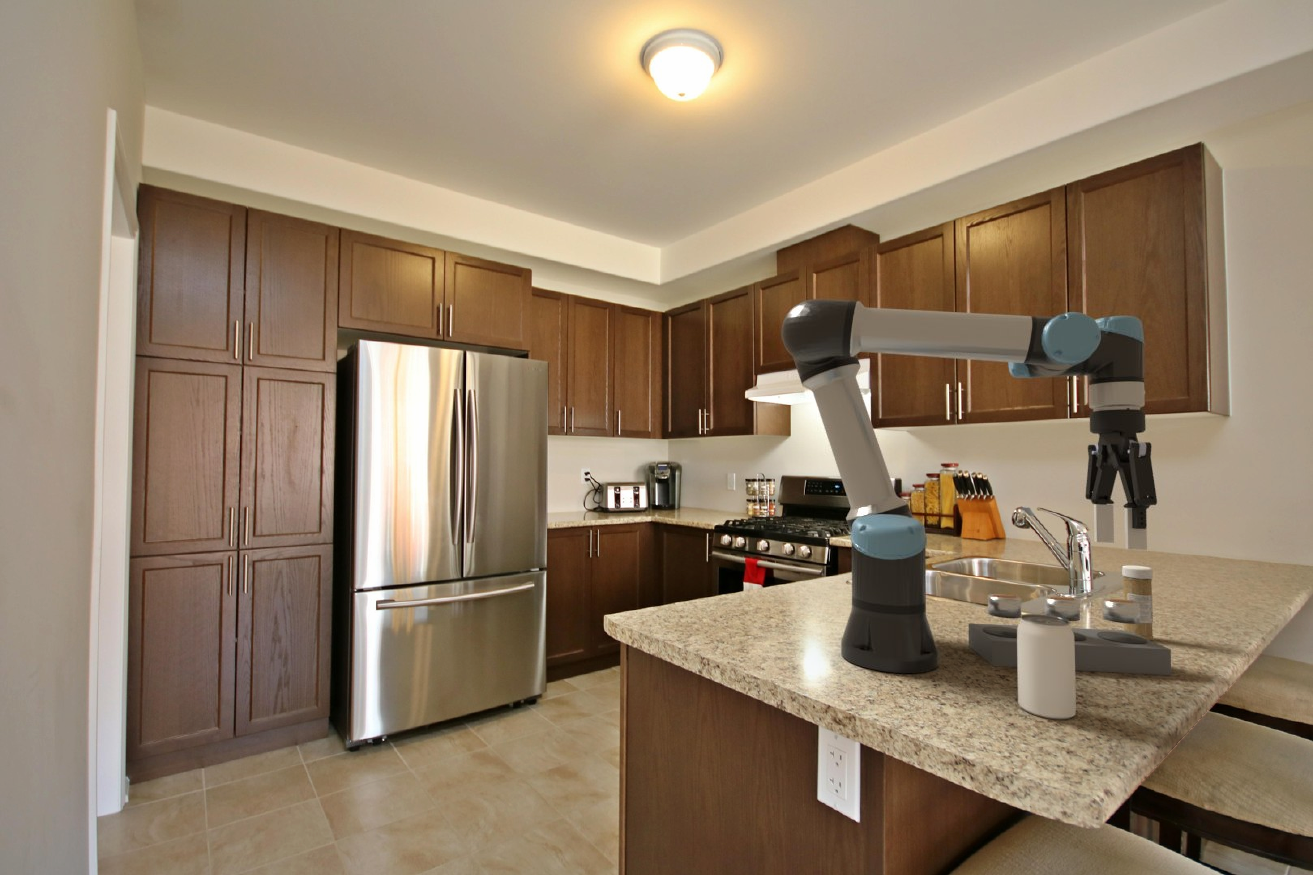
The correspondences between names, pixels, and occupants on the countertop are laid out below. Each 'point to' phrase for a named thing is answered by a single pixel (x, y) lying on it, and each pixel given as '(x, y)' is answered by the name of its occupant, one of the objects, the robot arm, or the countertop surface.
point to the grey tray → (1079, 649)
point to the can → (1046, 666)
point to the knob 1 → (1004, 606)
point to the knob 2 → (1121, 611)
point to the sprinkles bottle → (1139, 597)
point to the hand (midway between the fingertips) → (1119, 545)
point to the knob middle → (1062, 607)
